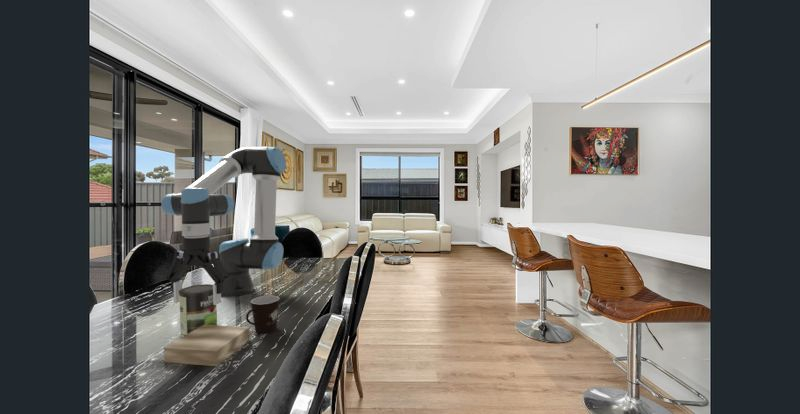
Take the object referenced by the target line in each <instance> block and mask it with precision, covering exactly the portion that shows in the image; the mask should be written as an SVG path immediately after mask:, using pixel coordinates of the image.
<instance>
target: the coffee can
mask: <svg viewBox="0 0 800 414" xmlns="http://www.w3.org/2000/svg"><path fill="white" fill-rule="evenodd" d="M179 298H180V302H179V317H180V319H179V320H180V338H182V337H183V336H185V335H187V334H189V333H190V332H192V331H194V330H196V329H197V328H199V327H201V326H202V325H218V318H217V317H218V314H217V305H213V284H209V283H208V284H207V283H206V284H195V285H190V286H187V287H184V288H183V287H182V289H181V290H179Z"/></svg>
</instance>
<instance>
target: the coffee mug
mask: <svg viewBox="0 0 800 414" xmlns="http://www.w3.org/2000/svg"><path fill="white" fill-rule="evenodd" d="M250 304H251V305H250V306H251V309H250V310H249V311H247V313H246V315H245V316H246V317H245V319H246V322H247V323H248V324H249V325H251V326H252V325H253V326H254V330H255V331H254V332H255V333H256V334H258V335H266V334H270V333H273V332H275V331H276V330H277V327H278V317H279V306H280V297H279V296H277V295H273V294H272V295H270V294H269V295H261V296H257V297H254V298H253V299H251V300H250ZM251 313H252V317H253V318H252V319H253V322H251V320H249V315H250V314H251Z"/></svg>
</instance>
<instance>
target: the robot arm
mask: <svg viewBox="0 0 800 414" xmlns="http://www.w3.org/2000/svg"><path fill="white" fill-rule="evenodd" d="M286 160H287V159H286V157H285V155H284V153H283V151H282V150H281V149H280V148H279V147H278V146H270V145H269V146H245V147H240V148H237V149H236V150H234V151H231V152H230V153H228V154H226V155H225V156H223V157H221V159H220V160H219V162H218V164H217V165H216V166H214V167H213V168H211V169H210V170H209V171H206V172H205V173H204V174H203V175H201V176H200V177H199V178H197V179H196V180H195V181H194V182H192V183H190V185H188V186H186V187H184V188H182V189H181V191H179V192H178V193H167V194H166V195H164V196H163V198H162V199H161V209H162V210H163V212H164V213H165V214H166V215H169V216H178V217H179V216H181V236H182V237H183V238H182V239H181V248H182V250H177V251H175V252H173V259H172V262H171V264H170V266H169V268H168V270H167V272H166V275H165V277H164V279H165V281H170V282H171V291H172V292H173V304H177V303H180V298H179V290H181V289H183V280H182V277H183V276H184V274H185V273H186V272H187V270H188V269H189V268H190V267H194V266H195V267H201V268H202V269H204V270H205V272H206V273H207V274H208V276H209V277H210V279H212V280H213V282H214V283H213V284H212V285H213V305H216V306H217V305H218V304H220V303H222V297H237V296H241V295H246V294H248V293H251V292H253V291H254V289H255V284H254V282H253V279H252V277H251V276H252V275H251V273H250V270H264V271H265V270H274V269H276V268H277V267H279V266H280V264H281V262H282V260H283V257H284V246H283V244H282V243H281V242H280V241H279V237H278V236H277V235H276V219H277V216H276V212H277V211H276V210H277V182H278V181H279V179H281V174H283V173H285V171H286V168H287V161H286ZM243 174H251V175H252V178H253V179H254V180H255V198H254V199H255V200H254V221H253V222H254V225H253V226H254V228H253V229H254V230H253V235H251V237H250V238H237V239H231V240H227V241H223V242H221V243H220V244H219V251H213V252H210V248H211V238H210V234H211V229H210V228H211V227H210V223H211V222H210V217H216V216H223V217H224V216H225V215H229V214H230V213H232V212H233V210H234V207H235V201H234V199H233V198H232V196H230V195H229V194H226V193H216V192H217V191H219V190H220V189H221V188H222V187H223V186H224V185H225V184H227V183H228V182H229V181H230V180H231V179H233V178H237V177H239V176H240V175H243ZM183 259H184V260H183Z"/></svg>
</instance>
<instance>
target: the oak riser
mask: <svg viewBox="0 0 800 414" xmlns="http://www.w3.org/2000/svg"><path fill="white" fill-rule="evenodd" d="M250 331H251V330H250V327H249V326H236V325H220V324H217V325H202V326H201V327H199V328H197V329H196V330H194V331H192V332H190V333H189V334H187V335H185V336H183V337H180V338H178V339H177V340H175V341H173V342H171V343H170V344H167V346H164V347H163V353H164V354H163V355H164V363H168V364H169V363H170V364H182V365H183V364H184V365H196V366H211V367H218V366H219V365H220V364H221V363H223V362H224V361H225V360H226V359H227V358H229V357H230V356H232V354H234V353H236V350H237V349H238V350H239V349H240V348H242V347H243V346H244V345H245V344H246V342H247V341H248V342H249V341H250V340H251V336H250V335H251V334H250ZM248 342H247V343H248ZM242 345H243V346H242ZM241 346H242V347H241ZM238 350H237V351H238Z"/></svg>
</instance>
